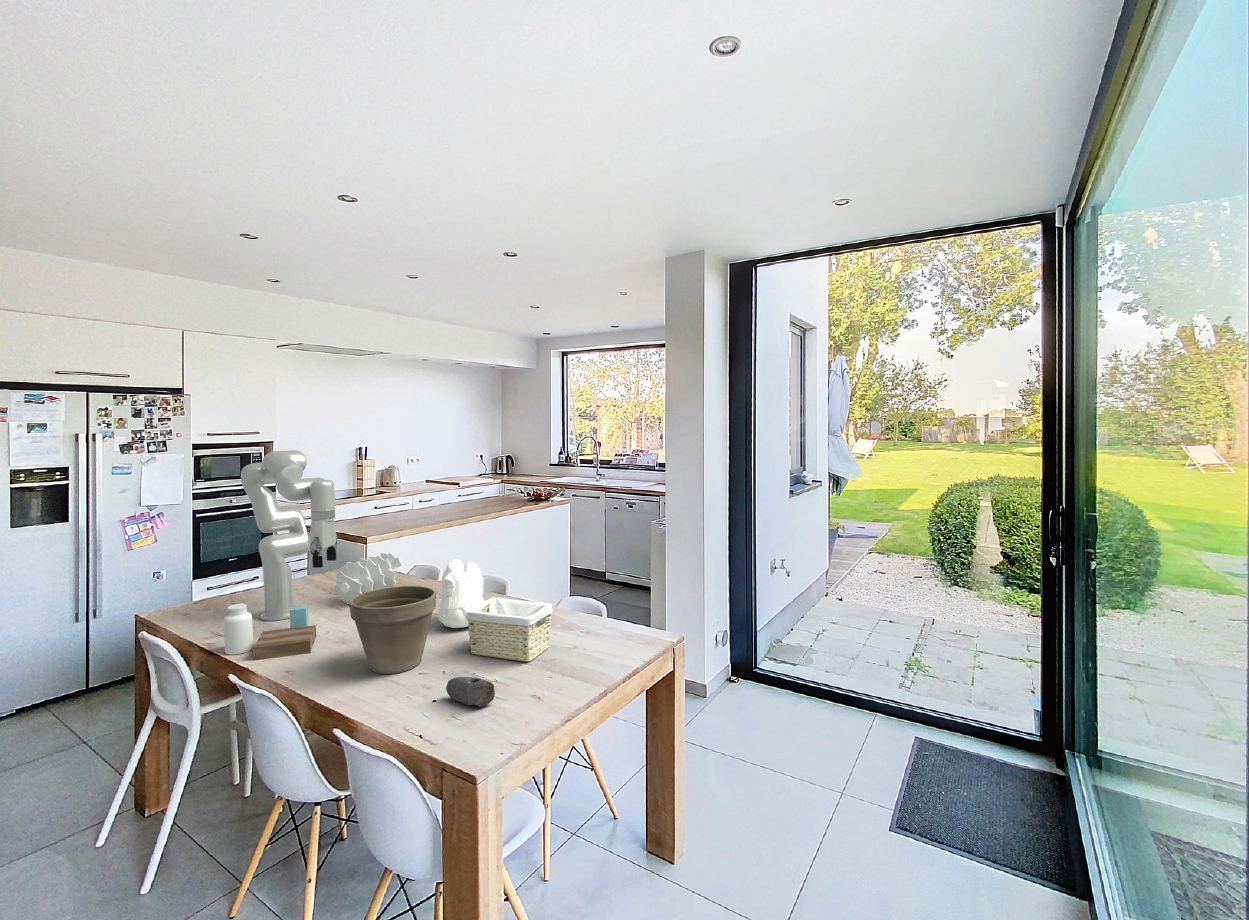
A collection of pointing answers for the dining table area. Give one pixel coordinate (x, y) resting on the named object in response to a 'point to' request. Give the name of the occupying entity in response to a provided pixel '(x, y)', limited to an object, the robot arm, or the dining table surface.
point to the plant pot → (393, 625)
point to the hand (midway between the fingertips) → (324, 563)
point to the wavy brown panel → (284, 642)
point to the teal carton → (299, 616)
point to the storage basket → (509, 628)
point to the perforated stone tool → (471, 690)
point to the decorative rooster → (459, 593)
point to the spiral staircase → (366, 575)
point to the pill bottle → (238, 630)
